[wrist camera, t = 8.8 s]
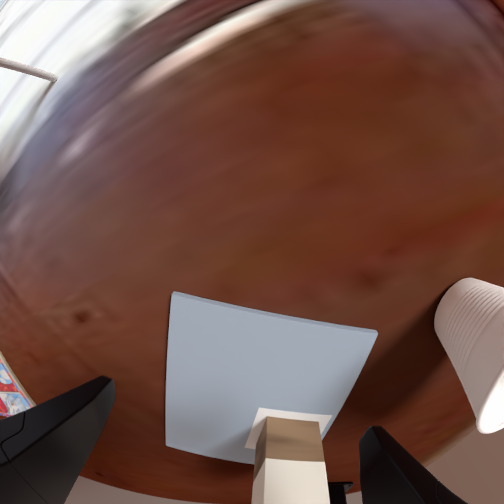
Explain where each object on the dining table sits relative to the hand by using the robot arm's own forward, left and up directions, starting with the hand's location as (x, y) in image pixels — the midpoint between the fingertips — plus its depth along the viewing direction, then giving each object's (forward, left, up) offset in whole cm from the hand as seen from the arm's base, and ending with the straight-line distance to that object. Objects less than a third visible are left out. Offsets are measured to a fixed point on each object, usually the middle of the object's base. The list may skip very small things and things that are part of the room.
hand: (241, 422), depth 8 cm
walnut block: (-15, -6, -12) cm, 20 cm away
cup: (+1, -18, -13) cm, 22 cm away
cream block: (-15, -6, -7) cm, 18 cm away
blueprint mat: (-12, -2, -12) cm, 17 cm away
